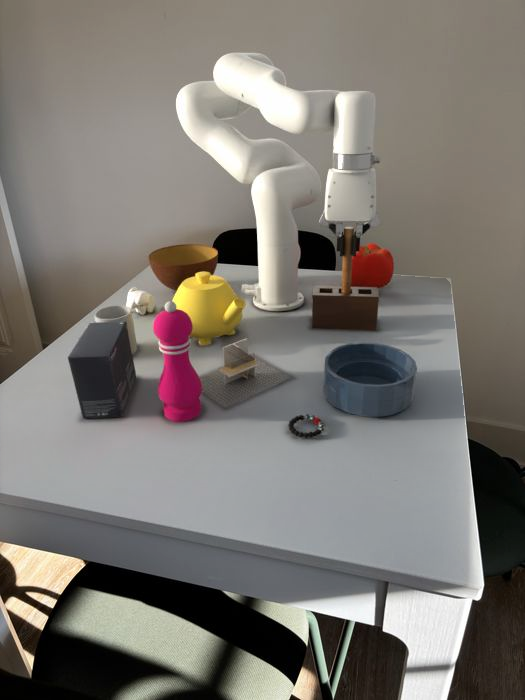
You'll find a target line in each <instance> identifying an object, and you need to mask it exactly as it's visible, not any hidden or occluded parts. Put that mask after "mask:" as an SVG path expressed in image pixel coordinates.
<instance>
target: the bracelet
mask: <svg viewBox="0 0 525 700" xmlns="http://www.w3.org/2000/svg"><path fill="white" fill-rule="evenodd" d="M304 419H306V420H309V419H310V421H313V423H314V424H315V425H318V428H317V429H316V430H313V431H309V432H302V431H299V430H297V429H296V427H295V424H296V423H297V422H299V421H304ZM288 430H289V431H290V432H291V434H292V435H294V436H295V437H298V438H300V439H301V438H304V439H308V438H313V437H315V438H316V437H317V436H320V435H321V434H322V432H324V431H325V423H324V422H323V421H322V419H321V418H320V417H317V416H315V414H311V415H310V413H309V414H308V413H306V414H304V415H303V414H300V415H296V416H295V417H292V418H291V419H290V420H289V421H288Z"/></svg>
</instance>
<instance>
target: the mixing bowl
mask: <svg viewBox="0 0 525 700" xmlns="http://www.w3.org/2000/svg"><path fill="white" fill-rule="evenodd" d="M323 365H324V367H323V371H324V372H323V395H324V396H325V398H326V400H327V402H329V403H330V404H332V405H333V406H334V407H335V408H337V409H339V410H341V411H344V412H346V413H348V414H353V415H356V416H361V417H375V418H379V417H386V416H387V417H388V416H393V415H395V414H398V413H400V412H403V411H404V410H406V409H407V408H408V407H409V406H411V404H412V401H413V399H414V397H415V395H414V394H415V390H416V389H415V388H416V381H417V373H418V372H417V371H418V366H417V363H416V360H415V359H414V358H413V357H412V356H411V355H410V354H409V353H408V352H405V351H403V350H402V349H400V348H397V347H394V346H392V345H389V344H384V343H378V342H366V341H365V342H364V341H363V342H362V341H361V342H352V343H346V344H343V345H339V346H337V347H334V349H331V350H329V351H328V353H327V354H326V356H325V357H324V364H323Z"/></svg>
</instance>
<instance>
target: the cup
mask: <svg viewBox="0 0 525 700" xmlns="http://www.w3.org/2000/svg"><path fill="white" fill-rule="evenodd" d="M131 310H132V309H131V308H129V307H128V306H126V305H123V304H115V305H113V304H112V305H108V306H104V307H101V308H99V309H97V310H95V312H94V314H93V316H94V321H92V322H90V323H95V322H116V321H126V322H127V329H128V335H129V341H130V347H131V352H132V356H133V355H134V354H136V351H137V350H138V348H137V347H138V344H137V343H138V342H137V337H136V332H135V324H134V318H133V313H132V311H131ZM86 328H87V326H86V327H85V329H86Z"/></svg>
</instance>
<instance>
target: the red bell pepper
mask: <svg viewBox="0 0 525 700" xmlns="http://www.w3.org/2000/svg"><path fill="white" fill-rule="evenodd" d="M394 270H395V263H394V257H393V256H392V253H391V251H390V250H388V249H386V248H381V247H380V246H379V245H377V244H376V243H368V244H367V245H364V246H363V245H360V251H359V252H356V257H353V256H352V275H351V287H377V288H378V290H379V289H382V288H384V287H386V286H388V285H389V284H390V283H391V281H392V279H393V276H394Z"/></svg>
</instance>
